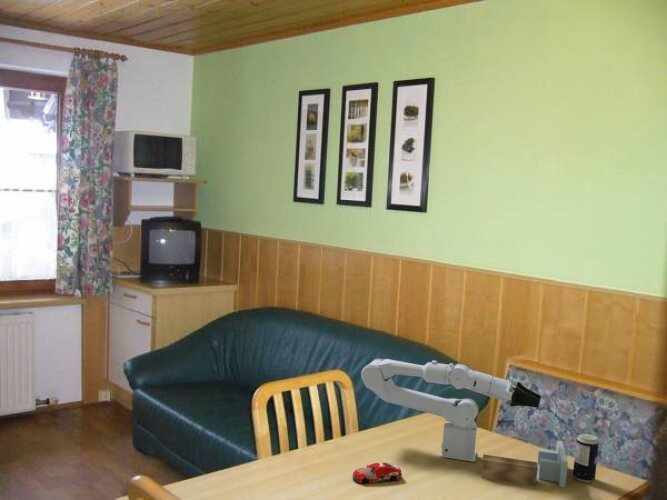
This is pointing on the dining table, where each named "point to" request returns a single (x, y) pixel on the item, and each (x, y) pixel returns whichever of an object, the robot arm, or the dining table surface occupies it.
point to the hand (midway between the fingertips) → (539, 401)
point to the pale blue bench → (553, 464)
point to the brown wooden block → (509, 470)
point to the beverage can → (585, 457)
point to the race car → (377, 473)
